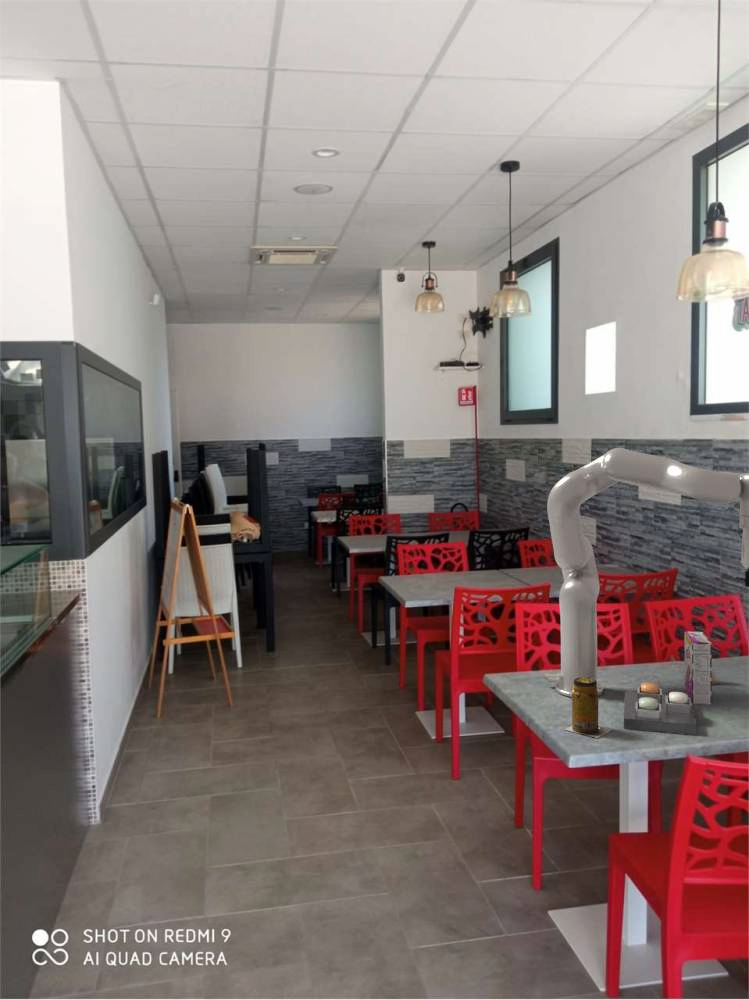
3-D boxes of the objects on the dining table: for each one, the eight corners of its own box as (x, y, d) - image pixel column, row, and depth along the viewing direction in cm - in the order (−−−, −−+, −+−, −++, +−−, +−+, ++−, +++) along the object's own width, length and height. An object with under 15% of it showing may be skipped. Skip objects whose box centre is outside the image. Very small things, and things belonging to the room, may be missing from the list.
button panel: (623, 728, 185) (623, 710, 185) (625, 700, 204) (625, 683, 204) (696, 735, 180) (696, 716, 180) (690, 706, 199) (691, 688, 199)
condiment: (579, 721, 190) (579, 673, 189) (612, 730, 185) (612, 680, 184) (564, 730, 185) (564, 680, 184) (597, 739, 179) (597, 688, 178)
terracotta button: (640, 694, 197) (640, 686, 197) (640, 689, 201) (640, 681, 201) (658, 695, 195) (658, 688, 195) (658, 690, 199) (658, 683, 199)
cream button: (669, 704, 189) (669, 696, 189) (668, 699, 193) (668, 691, 193) (688, 706, 188) (688, 698, 188) (687, 700, 192) (687, 692, 191)
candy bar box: (683, 690, 211) (683, 630, 210) (703, 691, 210) (703, 631, 209) (691, 704, 200) (692, 641, 199) (712, 705, 199) (712, 642, 198)
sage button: (639, 710, 186) (639, 702, 185) (638, 704, 190) (639, 696, 189) (657, 712, 184) (657, 704, 184) (657, 706, 188) (657, 698, 188)
